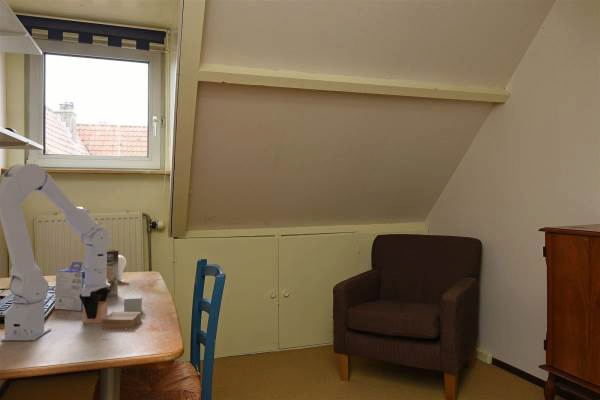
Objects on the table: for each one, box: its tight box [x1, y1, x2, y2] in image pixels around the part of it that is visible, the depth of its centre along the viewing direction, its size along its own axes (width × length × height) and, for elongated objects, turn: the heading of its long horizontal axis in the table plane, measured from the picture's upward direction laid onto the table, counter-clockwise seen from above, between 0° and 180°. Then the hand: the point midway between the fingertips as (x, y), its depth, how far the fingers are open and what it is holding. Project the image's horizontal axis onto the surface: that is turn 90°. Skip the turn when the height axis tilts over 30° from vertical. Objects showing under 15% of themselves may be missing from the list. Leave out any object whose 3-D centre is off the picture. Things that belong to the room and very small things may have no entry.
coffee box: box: [105, 249, 120, 297], centre depth 165 cm, size 9×6×16 cm
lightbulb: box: [118, 254, 127, 283], centre depth 191 cm, size 6×6×11 cm
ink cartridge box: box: [54, 261, 85, 312], centre depth 147 cm, size 10×6×14 cm, turn 78°
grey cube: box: [123, 294, 143, 315], centre depth 143 cm, size 5×5×5 cm
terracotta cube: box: [82, 300, 108, 324], centre depth 133 cm, size 5×5×5 cm
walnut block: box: [102, 311, 142, 330], centre depth 130 cm, size 8×8×3 cm
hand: (95, 315), depth 133 cm, fingers closed on terracotta cube, 5 cm apart
